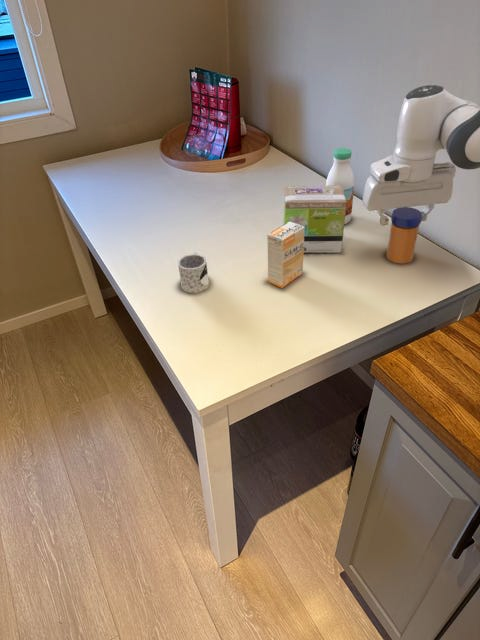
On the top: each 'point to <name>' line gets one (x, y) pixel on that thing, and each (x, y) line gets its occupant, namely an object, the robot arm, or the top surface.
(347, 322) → the top surface
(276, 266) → the supplement box
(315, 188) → the tea box
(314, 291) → the top surface
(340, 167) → the milk bottle
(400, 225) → the lid
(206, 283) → the mug
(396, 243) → the jar
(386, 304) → the top surface
